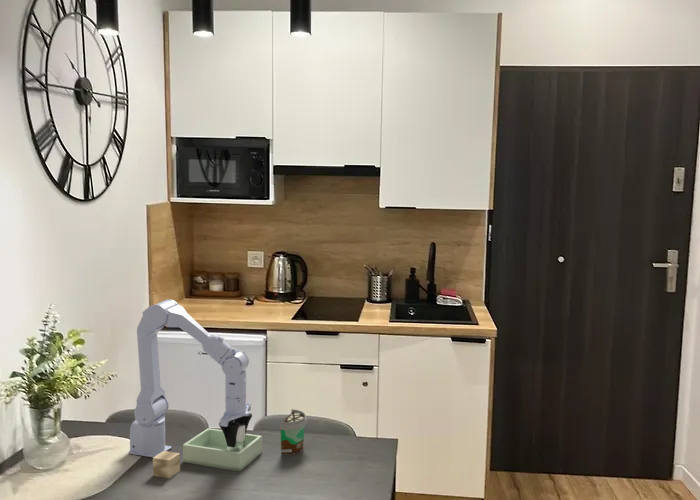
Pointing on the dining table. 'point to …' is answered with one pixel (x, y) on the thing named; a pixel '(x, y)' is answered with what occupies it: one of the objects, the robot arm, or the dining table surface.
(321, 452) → the dining table surface
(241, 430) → the cylinder
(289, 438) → the food container
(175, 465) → the cube
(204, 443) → the tote
